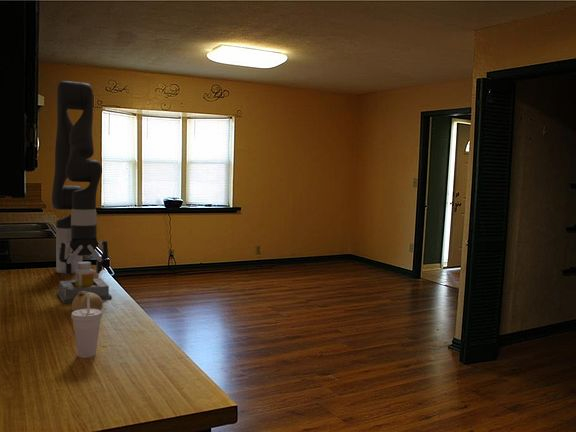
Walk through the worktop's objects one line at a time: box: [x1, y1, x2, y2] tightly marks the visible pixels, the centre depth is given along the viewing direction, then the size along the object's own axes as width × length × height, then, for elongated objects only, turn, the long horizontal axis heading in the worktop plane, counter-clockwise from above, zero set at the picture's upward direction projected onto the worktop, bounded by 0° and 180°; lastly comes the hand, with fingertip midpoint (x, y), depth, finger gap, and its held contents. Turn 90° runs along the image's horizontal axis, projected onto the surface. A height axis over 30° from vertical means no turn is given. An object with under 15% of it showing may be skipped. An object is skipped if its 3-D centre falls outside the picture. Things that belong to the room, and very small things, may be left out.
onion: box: [71, 291, 104, 312], centre depth 146 cm, size 8×8×7 cm
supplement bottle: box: [74, 261, 93, 287], centre depth 167 cm, size 5×5×10 cm
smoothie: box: [71, 293, 103, 359], centre depth 116 cm, size 6×6×14 cm
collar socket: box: [56, 277, 113, 305], centre depth 167 cm, size 14×14×4 cm
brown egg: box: [91, 268, 100, 279], centre depth 182 cm, size 7×7×5 cm
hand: (83, 274), depth 166 cm, fingers open, 8 cm apart
